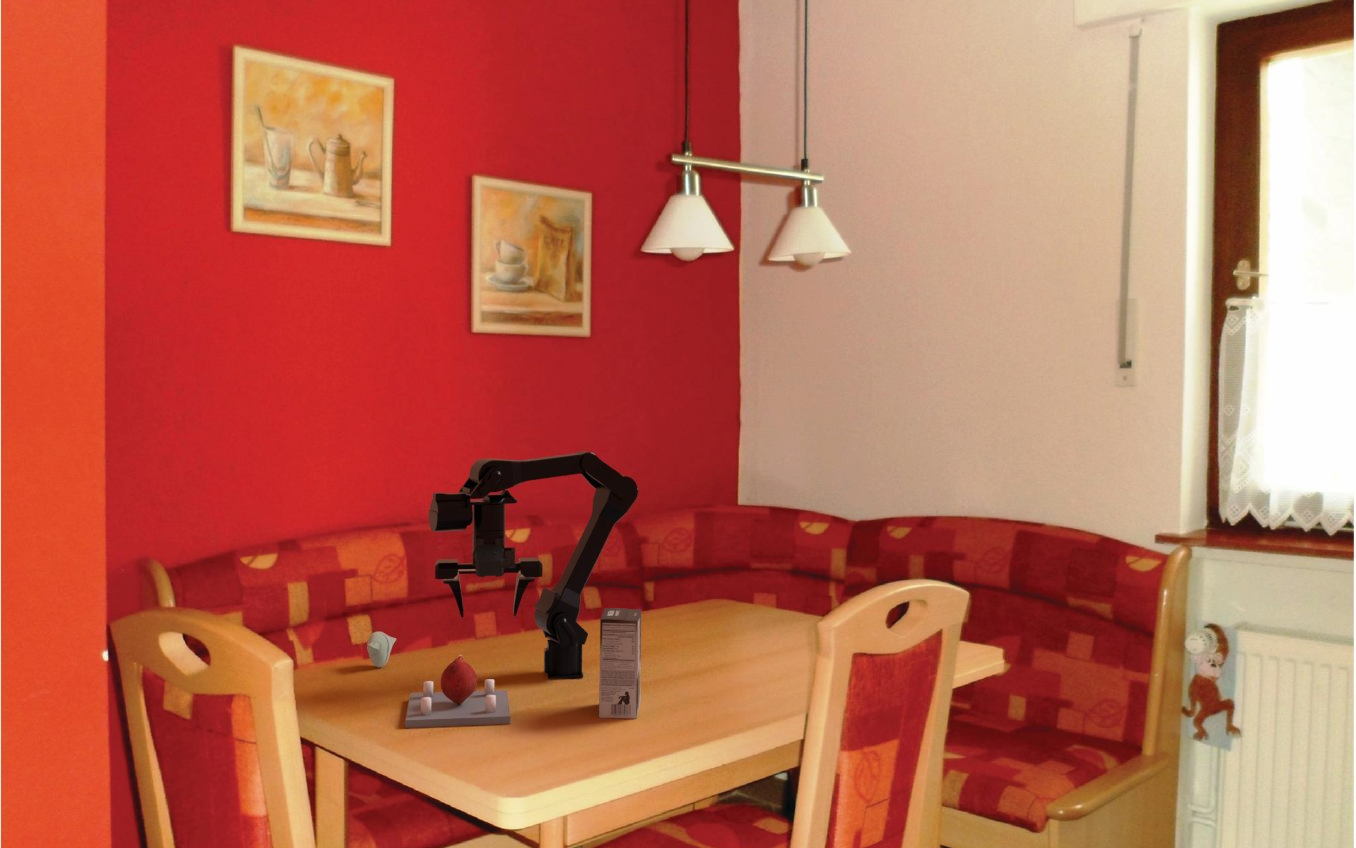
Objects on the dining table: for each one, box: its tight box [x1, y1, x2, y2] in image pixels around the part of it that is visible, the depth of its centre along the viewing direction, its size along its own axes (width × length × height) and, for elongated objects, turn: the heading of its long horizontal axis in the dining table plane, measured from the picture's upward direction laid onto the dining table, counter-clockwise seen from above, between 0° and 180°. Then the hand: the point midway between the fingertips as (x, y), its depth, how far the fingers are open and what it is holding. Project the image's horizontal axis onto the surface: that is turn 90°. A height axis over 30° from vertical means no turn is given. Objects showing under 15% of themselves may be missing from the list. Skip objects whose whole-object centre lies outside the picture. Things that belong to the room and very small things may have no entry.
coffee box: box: [598, 607, 642, 720], centre depth 184 cm, size 9×6×16 cm
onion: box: [440, 654, 478, 704], centre depth 182 cm, size 6×6×8 cm
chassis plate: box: [404, 678, 511, 729], centre depth 182 cm, size 16×16×4 cm
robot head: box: [366, 631, 397, 668], centre depth 211 cm, size 8×4×7 cm, turn 163°
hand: (488, 616), depth 200 cm, fingers open, 9 cm apart
